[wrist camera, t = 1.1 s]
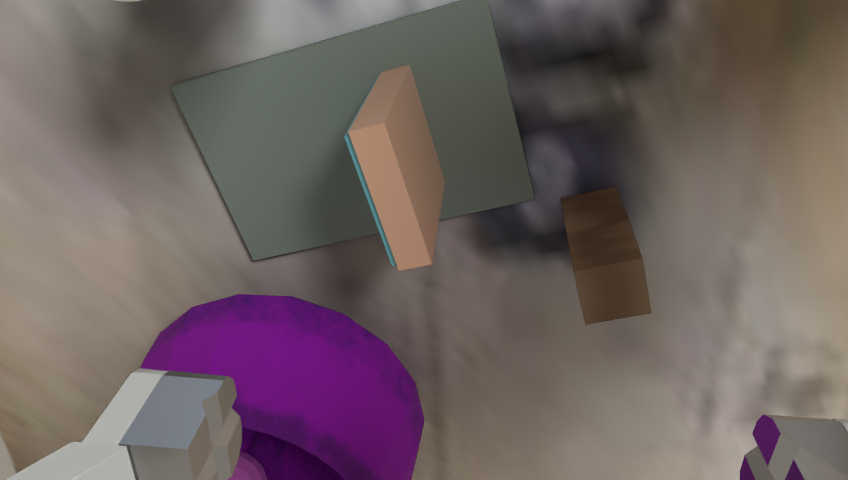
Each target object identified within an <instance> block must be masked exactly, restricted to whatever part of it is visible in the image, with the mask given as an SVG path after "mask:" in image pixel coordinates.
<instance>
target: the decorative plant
mask: <svg viewBox="0 0 848 480" xmlns="http://www.w3.org/2000/svg"><path fill="white" fill-rule="evenodd" d="M141 369H151V370H161V371H179V372H189V373H200V374H210V375H221V376H229V377H231V378H232V379H234V383H235V388H236V393H237V397H236V399H235V401H234V403H233V405H232V409H233V410H234V411H235V412H236V413H237V414H238V415H239V416H240V418H241V426H242V443H241V448H240V453H239V458H238V462H237V465H236V467H235V470H234V472H233V475H232V477H230V478H229V479H228V480H411V478H412V474H413V470H414V465H415V461H416V457H417V452H418V448H419V443H420V439H421V434H422V429H423V424H424V416H423V412H422V408H421V404H420V400H419V396H418V392H417V388H416V384H415V381H414V380H413V378H412V377H411V376H410V374H409V373H408V372H407V370H406V369H405V368H404V366H403V365H402V364H401V362H400V361H399V359H398V358H397V357H396V355H395V354H394V353H393V351H392V350H391V349H390V347H389V346H388V345H387V344H386V343H385V342H383V341H382V340H380V339H379V338H377V337H376V336H375V335H373V334H372V333H370V332H369V331H367V330H366V329H365V328H363V327H362V326H360V325H359V324H357V323H356V322H355V321H353V320H352V319H350V318H349V317H347V316H346V315H344V314H342V313H339V312H336V311H334V310H331V309H328V308H325V307H322V306H319V305H316V304H313V303H310V302H307V301H304V300H302V299H299V298H295V297H290V296H268V295H246V294H238V295H234V296H231V297H227V298H223V299H220V300H216V301H213V302H209V303H206V304H202V305H198V306H195V307H192V308H191V309H190V310H188V311H187V312H186V313H185V314H183V315H182V316H181V317H179V318H178V319H177V320H176V321H174V322H173V323H172V324H171V325H169V326H168V327H167V328H166V329H164V330H163V331H162V332H160V334H159V336H158V337H157V339H156V341H155V342H154V344H153V346H152V347H151V349H150V351H149V352H148V354H147V356H146V357H145V359H144V361H143V363H142V366H141Z"/></svg>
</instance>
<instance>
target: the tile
mask: <svg viewBox="0 0 848 480" xmlns="http://www.w3.org/2000/svg"><path fill="white" fill-rule="evenodd" d="M344 138H345V140H346V143H347V146H348V148H349V151H350V154H351V157H352V159H353V162H354V165H355V167H356V170H357V173H358V176H359V178H360V181H361V184H362V186H363V189H364V192H365V195H366V197H367V200H368V203H369V205H370V208H371V211H372V214H373V216H374V219H375V222H376V224H377V227H378V230H379V232H380V235H381V238H382V241H383V243H384V246H385V249H386V251H387V254H388V257H389V260H390V262H391V265H392V266H397V267H398V270H399V271H401V270H406V269H411V268H416V267H421V266H426V265H431V264H432V261H433V255H434V248H435V242H436V236H437V230H438V224H439V218H440V212H441V206H442V200H443V194H444V187H445V179H444V176H443V173H442V169H441V166H440V163H439V160H438V156H437V153H436V150H435V146H434V143H433V140H432V137H431V133H430V130H429V127H428V123H427V120H426V117H425V114H424V110H423V107H422V104H421V100H420V97H419V94H418V91H417V87H416V84H415V81H414V77H413V74H412V71H411V68H410V65H406V66H402V67H399V68H395V69H391V70H388V71H384V72H381V73H380V75H379V77H378V78H376V80H375V82H374V83H373V85H372V87H371V89H370V91H369V93H368V94H367V96H366V98H365V100H364V102H363V103H362V105H361V107H360V109H359V111H358V112H357V114H356V116H355V118H354V120H353V121H352V123H351V125H350V127H349V129H348V130H347V132H346V134H345V136H344Z"/></svg>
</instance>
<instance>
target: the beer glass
mask: <svg viewBox="0 0 848 480" xmlns="http://www.w3.org/2000/svg"><path fill="white" fill-rule="evenodd" d="M112 1H120V2H136V1H144V0H112Z"/></svg>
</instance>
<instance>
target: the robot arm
mask: <svg viewBox="0 0 848 480" xmlns="http://www.w3.org/2000/svg"><path fill="white" fill-rule="evenodd" d="M236 397H237V393H236V388H235V383H234V379H232V378H231V377H229V376H221V375H210V374H200V373H189V372H179V371H161V370H151V369H141V368H139V369H137V370H136V371H134V372H132V373H131V374H130V375H129V376H128V378H127V379H126V381H125V382H124V383H123V385H122V386H121V388H120V389H119V390H118V392H117V393H116V395H115V396H114V397H113V399H112V400H111V402H110V403H109V404H108V406H107V407H106V409H105V410H104V411H103V413H102V414H101V416H100V417H99V418H98V420H97V421H96V423H95V424H94V425H93V427H92V428H91V430H90V431H89V433H88V434H87V435H86V437H85V438H84V440H83V441H82V442H71V443H69V444H67V445H66V446H64V447H62V448H60V449H59V450H57V451H55V452H53V453H52V454H50V455H48V456H46V457H45V458H43V459H41V460H39V461H37V462H36V463H34V464H32V465H30V466H29V467H27V468H25V469H23V470H22V471H20V472H18V473H16V474H15V475H13V476H11V477H9V478H8V479H6V480H228V479H229V478H230V477H232V475H233V472H234V470H235V467H236V465H237V462H238V458H239V453H240V448H241V443H242V426H241V418H240V416H239V415H238V414H237V413H236V412H235V411H234V410H233V409H232V405H233V403H234V401H235V399H236ZM753 436H754V438H755V440H756V442H757V445H758V446H757V447H756V448H754V449H753V450H751V451H750V452H748V453H747V454H746V455H745V456H744V460H743V463H742V466H741V470H740V480H848V419H825V418H810V417H794V416H779V415H762V416H761V418H760V419H759V420H758V421H757V423H756V425H755V428H754V431H753Z"/></svg>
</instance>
